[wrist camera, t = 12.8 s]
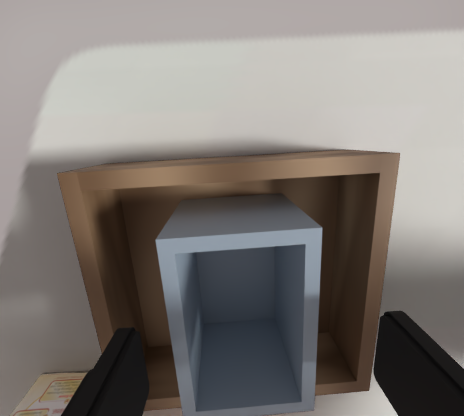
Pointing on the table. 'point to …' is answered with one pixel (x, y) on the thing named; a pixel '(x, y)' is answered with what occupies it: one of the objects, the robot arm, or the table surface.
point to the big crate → (228, 185)
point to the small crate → (242, 304)
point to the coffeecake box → (49, 395)
